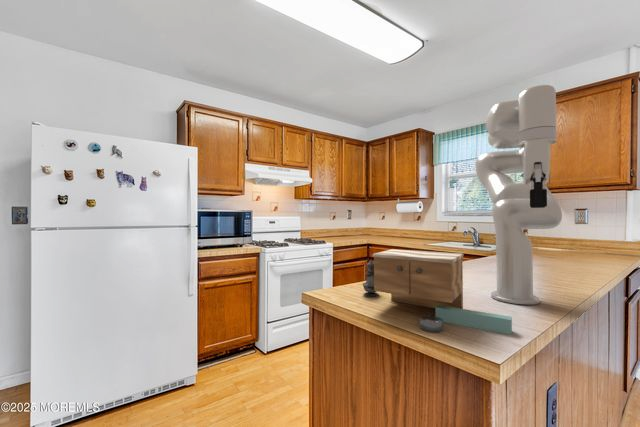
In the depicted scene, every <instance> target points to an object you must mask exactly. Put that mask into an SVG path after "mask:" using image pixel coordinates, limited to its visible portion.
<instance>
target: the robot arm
mask: <svg viewBox="0 0 640 427" xmlns="http://www.w3.org/2000/svg"><path fill="white" fill-rule="evenodd" d="M556 92H557V91H556V88H555V87H554V86H553V85H549V84H541V85H535V86H532V87H531V86H530V87H528V88H526V89H524V90H523V91H522V92H521V93H519V96H518V99H516V100H506V101H501V102H498V103H495V104H494V105H493V106H492V107H491V108H490V110H489V112H488V114H487V117H486V122H485V126H486V127H485V128H486V131H487V133H488V137H487V141H488V144H489V145H490V146H491V147H492V148H495V149H498V151H497V150H496V151H490V152H485V153H482V154H481V155H479V156H478V157H477V159H476V160H475V172H476V176H477V179H478V180H479V182H480V184H481V185H482V186H484V188H485V189H486V190H487V192H488V195H489V198H490V199H491V200H490V201H491V202H492V205H493V206H492V211H491V213H492V219H493V220H492V221H493V224H494V229H495V230H494V231H495V249H496V250H495V253H496V254H495V255H496V266H495V268H496V290H494V291H492V292H491V293H490V294H491V297H492V298H493V300H497V301H500V302H503V303H509V304H514V305H523V306H525V305H528V306H529V305H537V304H540V303H541V302H540V297H538V296H537V295H534V270H533V269H534V266H533V265H534V264H533V262H534V261H533V259H534V258H533V255H534V253H533V242H532V241H531V239H530V238H529V237H528V235H526V234H525V233H524V231H523V230H550V229H554V228H556V227H558V226H559V225H560V224H561V222H562V219H563V212H562V208H561V205H560V203H559V202H558V200H557V199H556V198H555V196H554V195H553V193H552V192H551V191H550V189H549V188H548V187H547V184H548V183H549V178H550V174H551V173H550V172H551V145H554V144H555V143H557V94H556ZM516 148H519V149H516ZM504 149H512V150H504ZM513 149H514V150H513ZM516 173H523V182H515V181H513V179H512V178H511V177H510V176H509V175H507V174H516Z"/></svg>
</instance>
